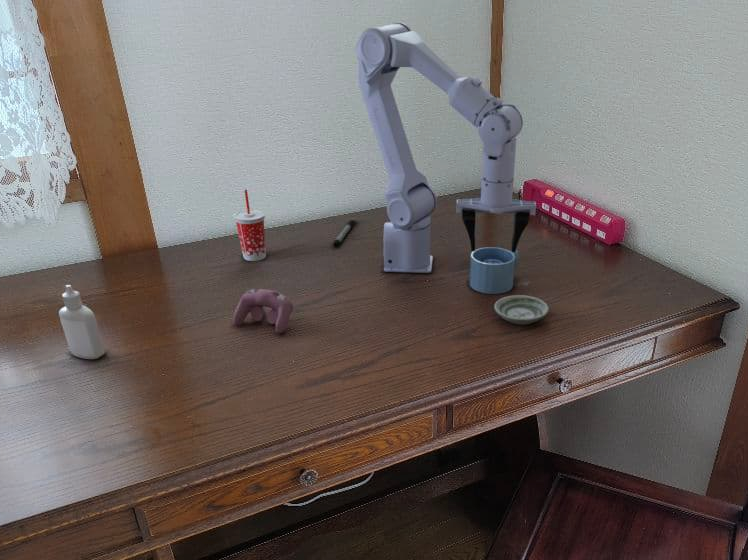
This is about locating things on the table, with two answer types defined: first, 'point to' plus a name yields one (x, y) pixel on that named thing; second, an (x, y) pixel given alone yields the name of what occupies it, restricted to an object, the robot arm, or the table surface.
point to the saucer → (521, 309)
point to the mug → (492, 270)
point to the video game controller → (255, 303)
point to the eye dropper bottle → (80, 327)
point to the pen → (344, 232)
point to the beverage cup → (251, 232)
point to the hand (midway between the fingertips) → (493, 249)
